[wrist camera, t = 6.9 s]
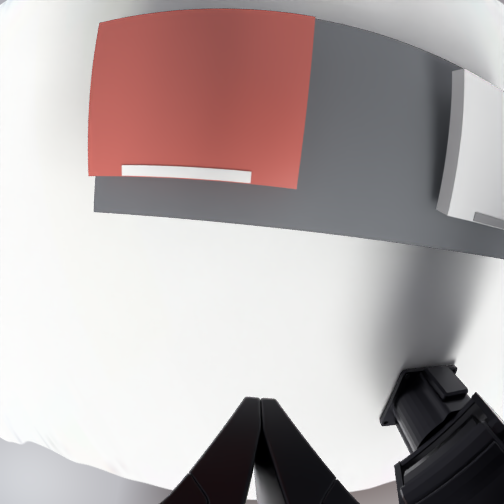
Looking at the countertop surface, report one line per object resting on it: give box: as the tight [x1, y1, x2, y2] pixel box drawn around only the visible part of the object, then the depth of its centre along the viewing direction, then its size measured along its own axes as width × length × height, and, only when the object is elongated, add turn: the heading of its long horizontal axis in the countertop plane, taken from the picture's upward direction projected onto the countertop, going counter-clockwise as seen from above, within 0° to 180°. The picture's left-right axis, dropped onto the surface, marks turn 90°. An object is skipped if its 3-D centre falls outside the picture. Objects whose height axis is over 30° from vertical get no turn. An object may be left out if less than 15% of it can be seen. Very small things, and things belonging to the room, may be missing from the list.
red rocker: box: [88, 9, 315, 189], centre depth 11 cm, size 8×10×1 cm
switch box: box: [94, 19, 504, 259], centre depth 15 cm, size 12×29×5 cm, turn 84°
